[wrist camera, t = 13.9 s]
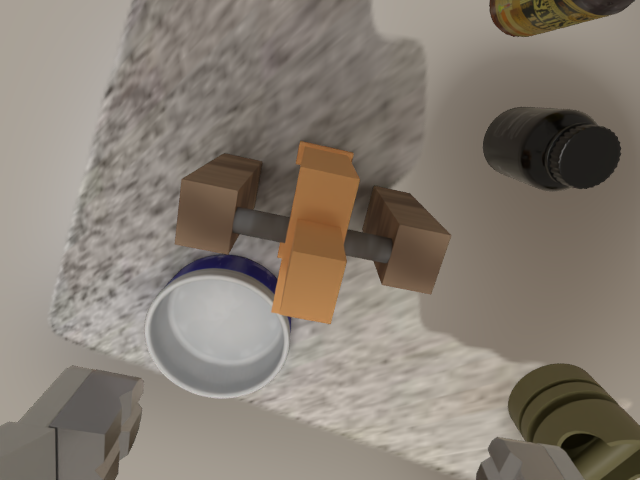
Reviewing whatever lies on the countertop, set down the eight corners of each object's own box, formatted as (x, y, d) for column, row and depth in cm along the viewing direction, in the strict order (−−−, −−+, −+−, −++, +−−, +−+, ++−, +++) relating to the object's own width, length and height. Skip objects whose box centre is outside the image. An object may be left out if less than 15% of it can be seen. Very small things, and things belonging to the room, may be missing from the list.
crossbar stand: (223, 153, 42) (181, 179, 28) (409, 193, 43) (451, 235, 30) (217, 199, 43) (174, 244, 30) (397, 236, 45) (431, 294, 32)
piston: (696, 473, 41) (609, 536, 44) (613, 392, 52) (549, 446, 55) (624, 421, 39) (537, 491, 42) (554, 348, 50) (490, 407, 53)
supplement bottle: (485, 182, 43) (546, 212, 32) (476, 117, 41) (538, 125, 29) (550, 164, 42) (636, 188, 31) (544, 98, 40) (634, 98, 29)
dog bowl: (246, 386, 52) (237, 421, 46) (139, 323, 48) (116, 353, 43) (318, 300, 48) (318, 328, 42) (207, 226, 45) (191, 245, 39)
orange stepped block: (300, 140, 37) (287, 179, 20) (352, 152, 38) (382, 200, 21) (278, 253, 41) (251, 365, 24) (326, 263, 42) (332, 379, 25)
